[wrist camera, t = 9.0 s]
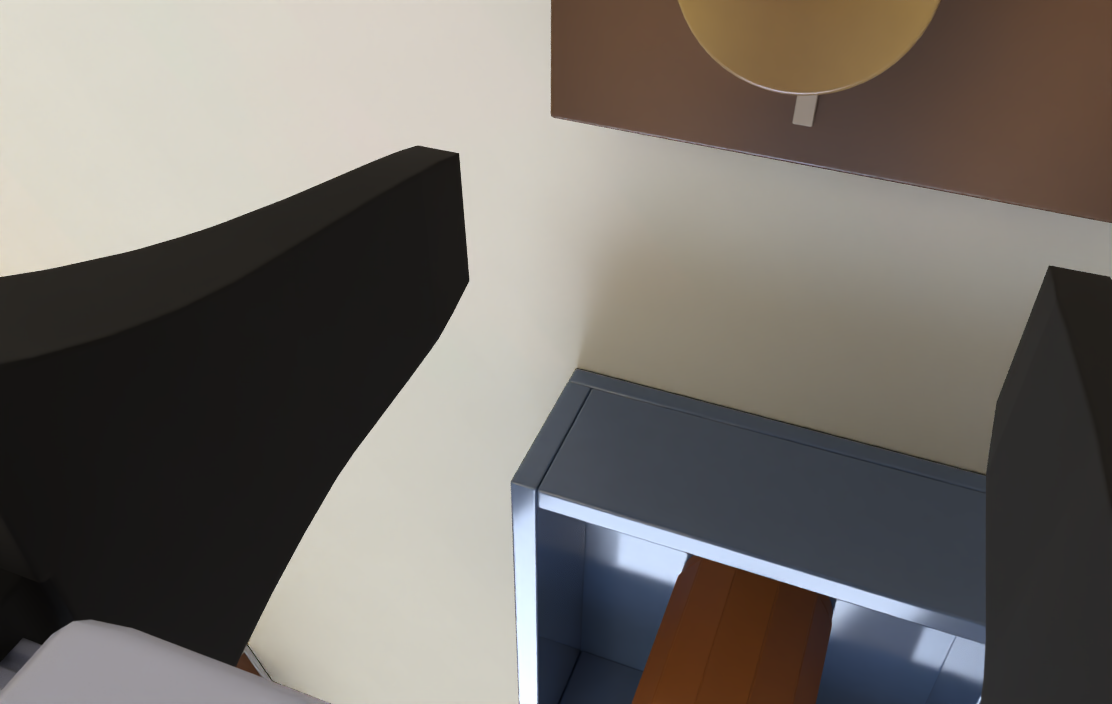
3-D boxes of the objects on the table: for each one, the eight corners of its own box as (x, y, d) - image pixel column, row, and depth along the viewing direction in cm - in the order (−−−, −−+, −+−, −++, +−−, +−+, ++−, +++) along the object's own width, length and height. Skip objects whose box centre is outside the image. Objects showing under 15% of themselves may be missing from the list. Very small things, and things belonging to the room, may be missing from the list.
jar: (847, 573, 28) (799, 804, 23) (817, 663, 31) (770, 886, 26) (688, 525, 29) (610, 734, 24) (675, 617, 32) (603, 820, 27)
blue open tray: (1050, 491, 24) (1048, 644, 21) (917, 760, 33) (900, 898, 30) (575, 367, 28) (509, 481, 24) (569, 640, 36) (519, 752, 33)
